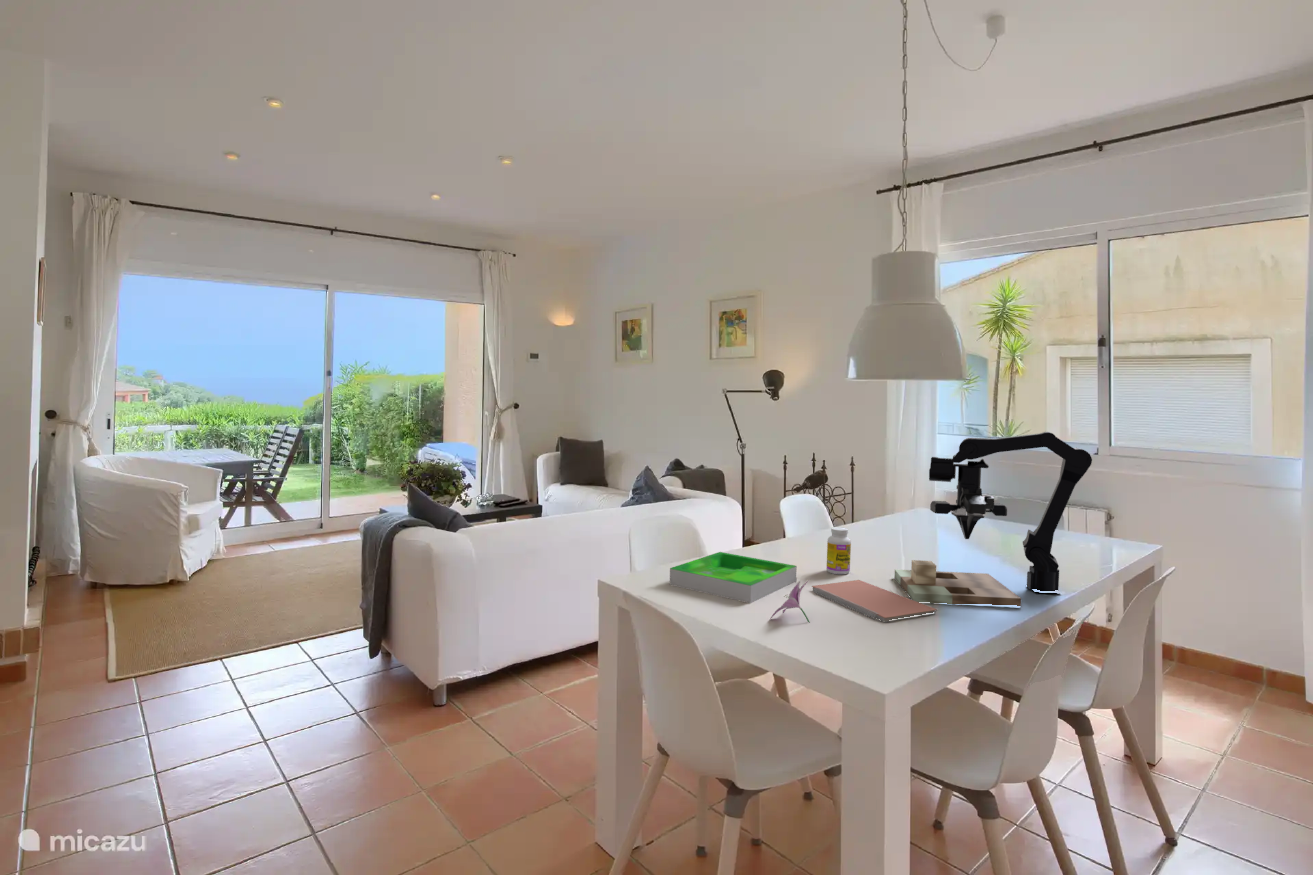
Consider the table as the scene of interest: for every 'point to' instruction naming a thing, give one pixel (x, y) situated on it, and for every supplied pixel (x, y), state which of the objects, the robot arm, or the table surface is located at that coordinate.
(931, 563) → the block
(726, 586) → the tray
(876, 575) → the table surface
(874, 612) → the notebook
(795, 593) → the lily
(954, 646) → the table surface
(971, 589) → the trap deck
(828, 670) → the table surface
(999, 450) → the robot arm
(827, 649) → the table surface
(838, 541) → the supplement bottle
